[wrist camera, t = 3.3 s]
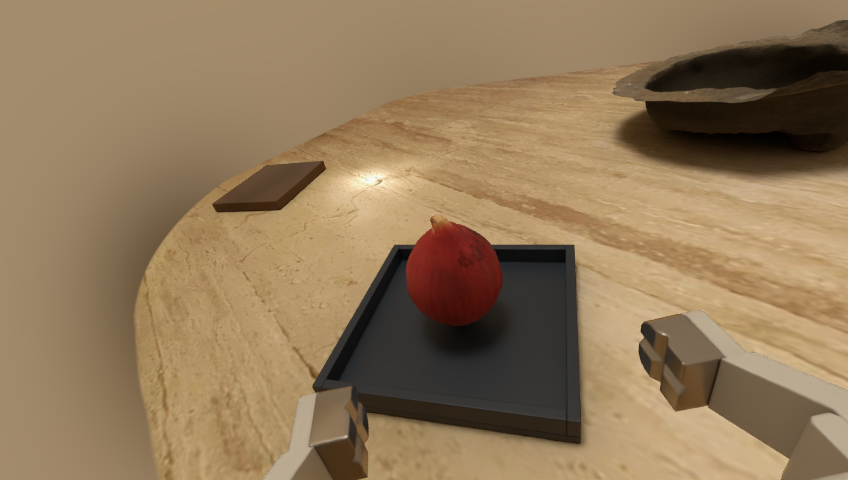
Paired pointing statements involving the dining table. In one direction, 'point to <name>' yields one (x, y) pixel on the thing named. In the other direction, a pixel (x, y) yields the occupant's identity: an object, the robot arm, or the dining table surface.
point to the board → (270, 187)
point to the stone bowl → (754, 88)
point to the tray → (470, 350)
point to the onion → (453, 274)
